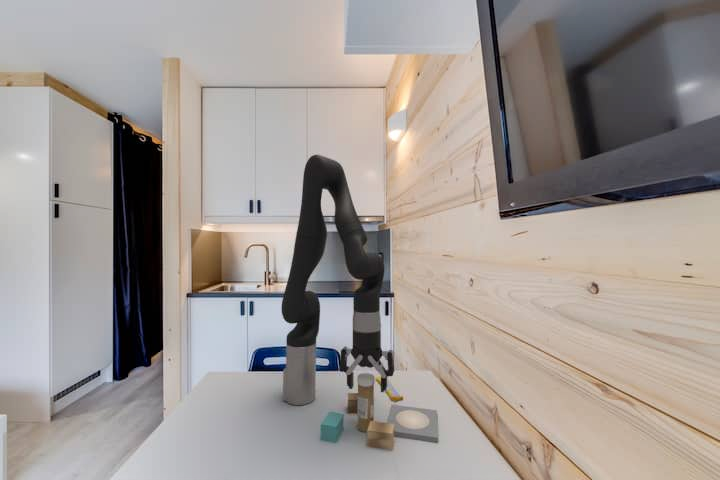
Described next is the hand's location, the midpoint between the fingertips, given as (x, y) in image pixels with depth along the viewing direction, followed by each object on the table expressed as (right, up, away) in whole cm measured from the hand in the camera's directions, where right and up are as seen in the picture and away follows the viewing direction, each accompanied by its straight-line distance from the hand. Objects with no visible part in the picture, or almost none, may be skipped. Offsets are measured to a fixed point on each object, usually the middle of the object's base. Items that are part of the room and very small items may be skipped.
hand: (366, 389), depth 80 cm
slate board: (+12, -10, +2) cm, 16 cm away
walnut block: (-2, -10, +9) cm, 14 cm away
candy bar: (+8, -11, +21) cm, 26 cm away
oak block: (+3, -10, -7) cm, 12 cm away
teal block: (-9, -10, -3) cm, 14 cm away
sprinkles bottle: (0, -10, 0) cm, 10 cm away
